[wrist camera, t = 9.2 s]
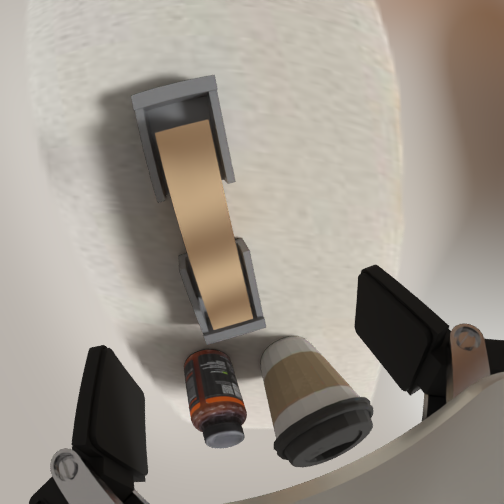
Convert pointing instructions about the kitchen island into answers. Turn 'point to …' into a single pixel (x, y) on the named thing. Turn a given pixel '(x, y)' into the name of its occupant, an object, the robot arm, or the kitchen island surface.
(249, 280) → the cap
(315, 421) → the coffee cup
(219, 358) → the supplement bottle
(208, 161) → the light wood rectangular block
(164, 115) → the cap
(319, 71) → the kitchen island surface
